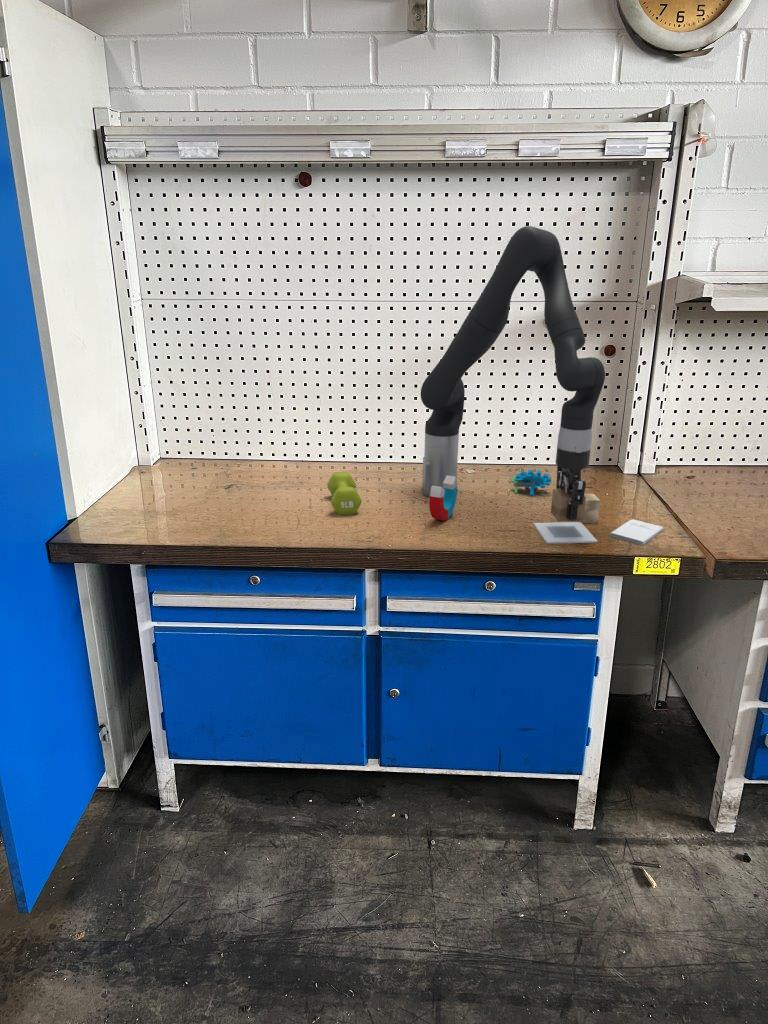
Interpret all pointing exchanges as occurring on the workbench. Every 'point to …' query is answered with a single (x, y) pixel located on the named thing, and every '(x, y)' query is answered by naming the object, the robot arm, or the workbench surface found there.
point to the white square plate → (565, 532)
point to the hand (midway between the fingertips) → (567, 513)
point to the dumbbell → (344, 493)
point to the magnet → (443, 499)
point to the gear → (530, 480)
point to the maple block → (591, 509)
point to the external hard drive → (636, 532)
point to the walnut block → (564, 506)
